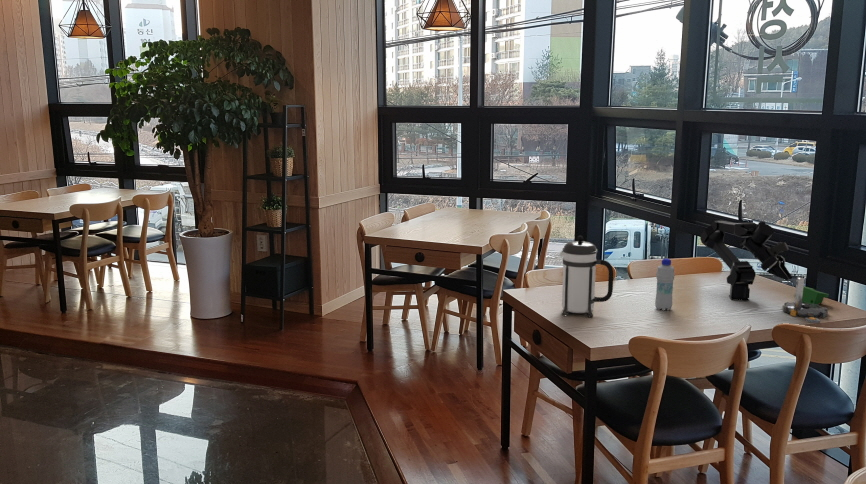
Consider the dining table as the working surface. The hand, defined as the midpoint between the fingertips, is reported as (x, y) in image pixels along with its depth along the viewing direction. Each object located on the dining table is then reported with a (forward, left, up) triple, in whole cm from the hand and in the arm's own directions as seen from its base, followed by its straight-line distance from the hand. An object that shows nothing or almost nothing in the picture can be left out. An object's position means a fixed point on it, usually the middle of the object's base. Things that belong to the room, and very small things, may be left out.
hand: (789, 279), depth 271 cm
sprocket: (+6, -3, -12) cm, 14 cm away
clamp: (+12, +13, -13) cm, 22 cm away
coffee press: (-77, -19, -13) cm, 80 cm away
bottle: (-46, -8, -13) cm, 48 cm away
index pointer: (+6, -13, -12) cm, 19 cm away
